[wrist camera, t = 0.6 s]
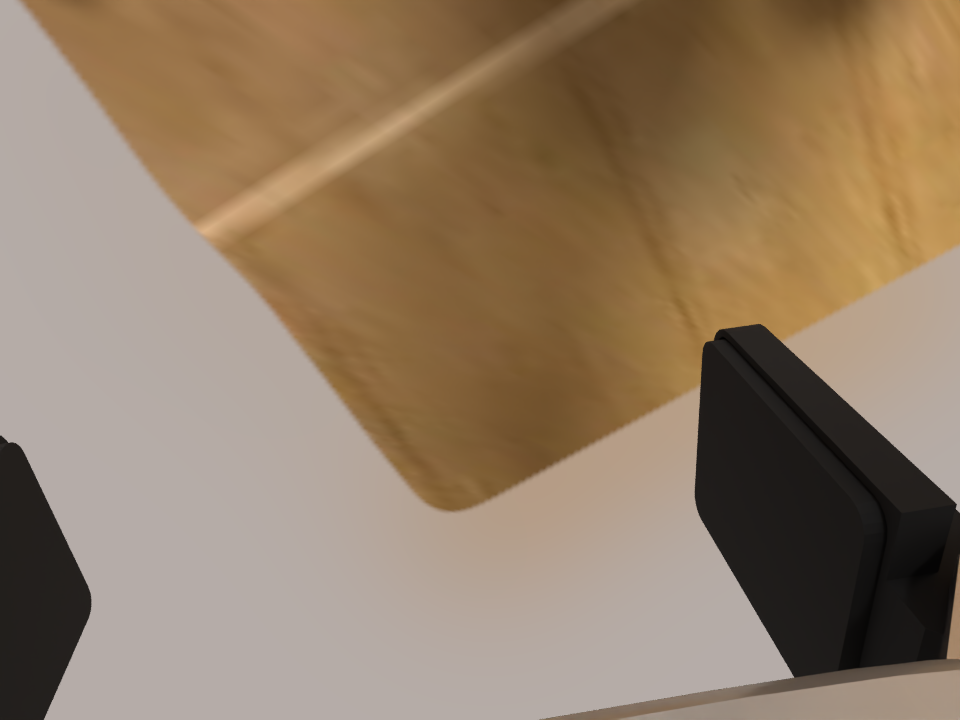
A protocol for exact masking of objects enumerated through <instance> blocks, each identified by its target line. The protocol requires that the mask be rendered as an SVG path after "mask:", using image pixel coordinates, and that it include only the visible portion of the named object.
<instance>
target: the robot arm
mask: <svg viewBox="0 0 960 720" xmlns="http://www.w3.org/2000/svg"><path fill="white" fill-rule="evenodd" d="M695 501H696V506H697V510H698V513H699V516H700V518H701V520H702V521H703V523H704V525H705V527H706V528H707V530H708V531H709V533H710V535H711V537H712V538H713V540H714V542H715V544H716V545H717V547H718V549H719V550H720V552H721V553H722V555H723V557H724V559H725V560H726V562H727V564H728V566H729V567H730V569H731V571H732V572H733V574H734V576H735V577H736V579H737V581H738V582H739V584H740V586H741V588H742V589H743V591H744V592H745V594H746V596H747V598H748V599H749V601H750V603H751V605H752V606H753V608H754V610H755V611H756V613H757V615H758V616H759V618H760V620H761V622H762V623H763V625H764V626H765V628H766V630H767V632H768V633H769V635H770V637H771V638H772V640H773V641H774V643H775V645H776V647H777V649H778V650H779V652H780V654H781V655H782V657H783V659H784V661H785V662H786V664H787V666H788V667H789V669H790V671H791V672H792V674H793V676H794V677H795V678H790V679H784V680H777V681H770V682H764V683H757V684H751V685H744V686H738V687H731V688H724V689H718V690H711V691H706V692H700V693H693V694H688V695H682V696H676V697H670V698H664V699H658V700H652V701H646V702H640V703H635V704H629V705H623V706H617V707H611V708H606V709H599V710H593V711H588V712H582V713H576V714H570V715H564V716H558V717H552V718H546V719H541V720H960V513H959V512H958V511H957V510H956V505H957V504H956V503H955V502H954V501H953V500H952V499H951V498H949V496H947V495H946V494H945V493H944V492H943V491H942V490H941V489H940V488H939V487H938V486H937V485H935V484H934V483H933V482H932V481H931V480H930V479H929V478H928V477H927V476H926V475H925V474H924V473H922V472H921V471H920V470H919V469H918V468H917V467H916V466H915V465H914V464H913V463H912V462H910V460H908V459H907V458H906V457H905V456H904V455H903V454H902V453H901V452H900V451H899V450H898V449H897V448H895V447H894V446H893V445H892V444H891V443H890V442H889V441H888V440H887V439H886V438H885V437H884V436H882V435H881V434H880V433H879V432H878V431H877V430H876V429H875V428H874V427H873V426H872V425H870V424H869V423H868V422H867V421H866V420H865V419H864V418H863V417H862V416H861V415H860V414H858V412H856V411H855V410H854V409H853V408H852V407H851V406H850V405H849V404H848V403H847V402H846V401H844V400H843V399H842V398H841V397H840V396H839V395H838V394H837V393H836V392H835V391H834V390H833V389H832V388H830V387H829V386H828V385H827V384H826V383H825V382H824V381H823V380H822V379H821V378H820V377H819V376H817V375H816V374H815V373H814V372H813V371H812V370H811V369H810V368H809V367H808V366H807V365H806V364H804V363H803V362H802V361H801V360H800V359H799V358H798V357H797V356H795V354H794V353H792V352H791V351H790V350H789V349H788V348H787V347H786V346H785V345H784V344H783V343H782V342H781V341H780V340H779V339H777V338H776V337H775V336H774V335H773V334H772V333H771V332H770V331H769V330H768V329H767V328H766V327H764V326H763V325H761V324H756V325H749V326H742V327H735V328H728V329H721V330H719V331H718V332H717V333H716V335H715V338H714V341H709V342H706V343H705V345H704V347H703V354H702V371H701V389H700V408H699V425H698V443H697V462H696V479H695ZM90 612H91V594H90V591H89V588H88V585H87V583H86V581H85V579H84V577H83V575H82V573H81V571H80V569H79V567H78V564H77V562H76V560H75V558H74V557H73V554H72V552H71V550H70V548H69V546H68V544H67V541H66V540H65V537H64V535H63V533H62V531H61V529H60V527H59V525H58V523H57V521H56V519H55V517H54V514H53V512H52V510H51V508H50V506H49V504H48V502H47V500H46V498H45V495H44V493H43V492H42V489H41V487H40V485H39V483H38V481H37V479H36V477H35V474H34V472H33V470H32V468H31V466H30V464H29V462H28V460H27V458H26V456H25V454H24V452H23V450H22V449H21V447H20V446H19V445H17V444H16V443H8V442H7V440H5V439H4V438H3V437H2V436H0V720H44V718H45V716H46V713H47V711H48V709H49V706H50V704H51V702H52V700H53V698H54V695H55V693H56V691H57V689H58V686H59V684H60V682H61V679H62V677H63V675H64V673H65V670H66V668H67V666H68V664H69V661H70V659H71V657H72V654H73V652H74V650H75V648H76V646H77V643H78V641H79V639H80V636H81V634H82V632H83V629H84V627H85V625H86V623H87V620H88V618H89V615H90Z"/></svg>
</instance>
